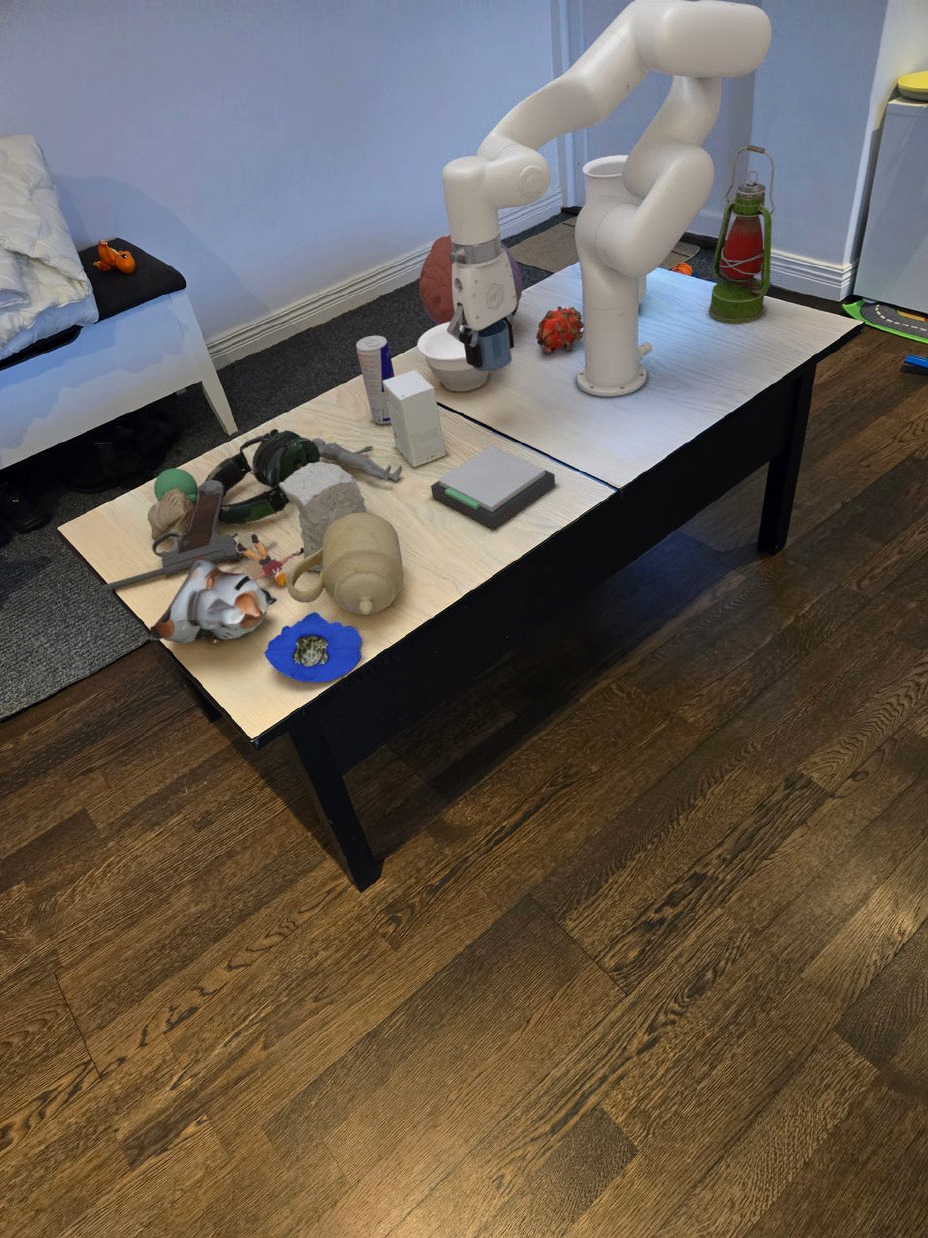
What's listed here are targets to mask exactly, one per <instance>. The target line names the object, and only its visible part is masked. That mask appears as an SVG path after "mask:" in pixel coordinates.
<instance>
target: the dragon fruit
mask: <svg viewBox="0 0 928 1238" xmlns="http://www.w3.org/2000/svg"><path fill="white" fill-rule="evenodd" d="M582 320H583V315H582V314H581V312H580V311H578V310H576V308H575V307H574V306H570V307H568V308H566V307H563V308H562V306H560V305H558V306H557V309H556V310H555V311H554V310H547V312H546V314H545V316H544V317H543V318H542V319H541V321H540V322H538V325H537V326H538V327H537V328H538V329H537V333H536V336H535V340H537V341H536V342H537V345H539V346H540V347H541V348H542V347H545V348H544V349H543V353H544V354H547V353H552V354H553V353H555V352H557V351H558V350H559V349H564V350H565V351H566V352H569V351H570V350H571V349H572V348H573V347H574V342H575V340H577V341H579V340H582V339H584V325H583V321H582ZM581 329H583V330H582V331H581Z"/></svg>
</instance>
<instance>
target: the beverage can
mask: <svg viewBox="0 0 928 1238" xmlns="http://www.w3.org/2000/svg"><path fill="white" fill-rule="evenodd" d="M355 345H356V346H355V347H356V353H357V358H358V362H359V366H360V370H361V374H362V379H363V384H364V388H365V392H366V396H367V401H368V405H369V409H370V413H371V418H372V420H373V421H374V422H375V423H376V424H381V425H389V424H391V420H390V415H389V410H388V405H387V401H386V396H385V392H384V387H383V381H384V380H387V379H390V378H392V377H395V376H396V375H395V371H394V370H395V369H394V366H393V362H392V356H391V350H390V348H389V347H390V346H389V344H388V340H387V338H386V337H384V336H381V335H371V336H369V335H368V336H365V337H363V338H361V339H359V340H358V341H357V342H356V344H355Z"/></svg>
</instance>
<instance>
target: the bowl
mask: <svg viewBox="0 0 928 1238" xmlns="http://www.w3.org/2000/svg"><path fill="white" fill-rule="evenodd" d="M449 324H450V322H447V323H443V324H441V325H438V326H437V325H436V326H434V327H432V328H430V329H428V330H427V331H425V332H424V333H422V335H421V336H420V337H419V338H418V341H417V344H416V346H417V350H418V352H419V353H420V354H421V355H423V356H424V358H425V362H426V364H427V366H428V368H429V370H430V371H431V372H432V374H433V375H434V376H435V377H436V378H437V379H438V380H439V381H440V382H442V385H443V387H444V388H446V389H447V390H449V391H453V392H467V391H472V390H475V389H478V388H480V387H482V386H483V385H484V384H485V383H486V382H487V380H488V376H489V373H490V372H491V371H480V370H477V369H475V368H474V367H473V366H472V365H469V364H468V363H467V360H466V354H465V348H464V344H463V343H461V342H460V341H458V340H457V339H455V338H454V337H453V336H452V335H450V334H449V333H448V332H447V328H448V326H449ZM460 331H462V325H461V326H460Z"/></svg>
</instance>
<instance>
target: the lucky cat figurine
mask: <svg viewBox="0 0 928 1238" xmlns="http://www.w3.org/2000/svg"><path fill="white" fill-rule="evenodd" d="M188 570H189V571H188V573H187V576H186V578H185V580H184V581H183V583H182V584H181V586H180V587H179V589H178V591H177V592H176V593H175V595H174V597H173V599H172V601H171V602H170V604H169V605H168V607H167V609H166V610H165V612H164V613H163V614H162V615H161V616H160V617H159V619H158V620H157V621H156V622H155V624H154V625H152V626H150V628H149V629H150V637H149V639H150V641H151V642H153V641H160V640H162V639H163V640H165V641H166V642H174V643H182V644H183V643H184V644H189V643H193V642H195V641H197V640H201V639H206V641H207V643H208V644H209V645H219V644H220V641H221V640H234V639H235V640H236V639H238V638H240V637H242V636H244V635H245V634H249V633H252V632H254V631H255V629H256V628H257V627H258V626H260V625H261V624H262V621H263V620H264V618H265V616H266V615H267V613H268V611H267V610H268V607H269V606H271V605H273V604H275V603H276V602H277V601H278V598H276V597H275V596H272V595H271V593H270V592H269V591H268V590H266V589H264V588H262V587H261V586H260V585H259V584H258V582H257V581H253V580H252V579H251V578H250V576H249V575H248V574H245V573H241V572H239V573H238V572H237V573H236V572H228V571H223V570H221V568H219V567H218V565H216V564H215V563H212V562H210V561H209V560H207V559H204V558H201V557H199V558H195V559H194V560H193V562H192V565H191V568H190V569H188Z"/></svg>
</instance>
